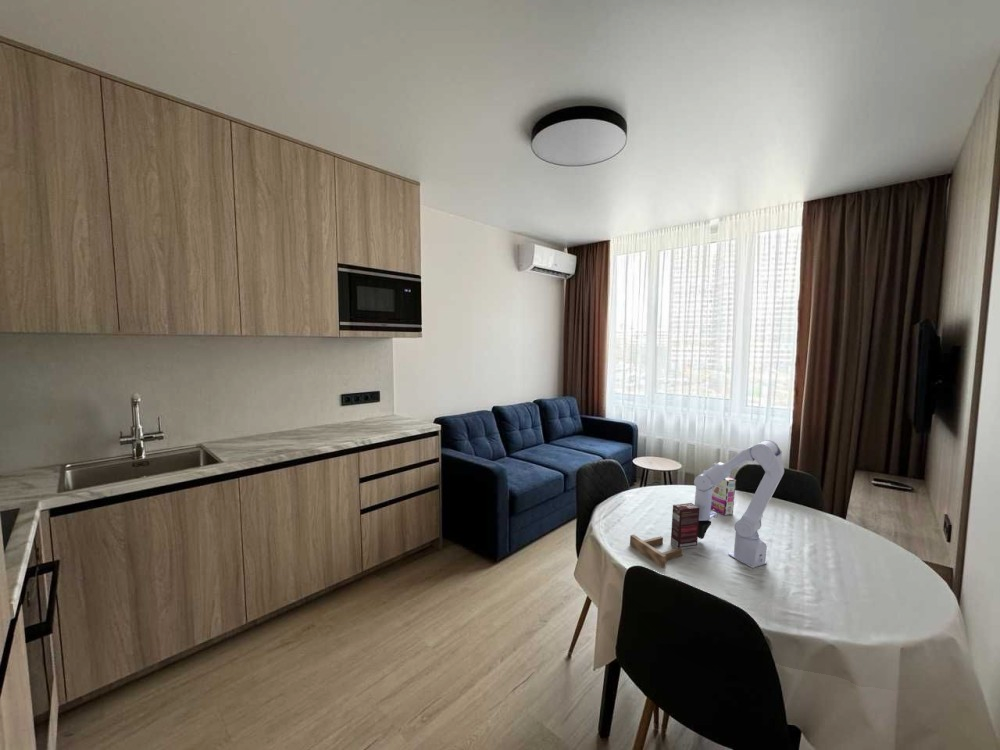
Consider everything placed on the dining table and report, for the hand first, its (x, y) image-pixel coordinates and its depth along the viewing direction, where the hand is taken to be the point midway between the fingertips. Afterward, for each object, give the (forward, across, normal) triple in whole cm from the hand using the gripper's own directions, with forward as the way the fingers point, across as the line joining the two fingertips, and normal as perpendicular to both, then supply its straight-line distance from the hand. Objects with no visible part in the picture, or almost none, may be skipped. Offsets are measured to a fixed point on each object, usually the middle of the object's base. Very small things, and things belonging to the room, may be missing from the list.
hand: (700, 537), depth 160 cm
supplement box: (+2, +9, 0) cm, 9 cm away
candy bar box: (+2, -33, -17) cm, 37 cm away
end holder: (+2, +21, 0) cm, 21 cm away
